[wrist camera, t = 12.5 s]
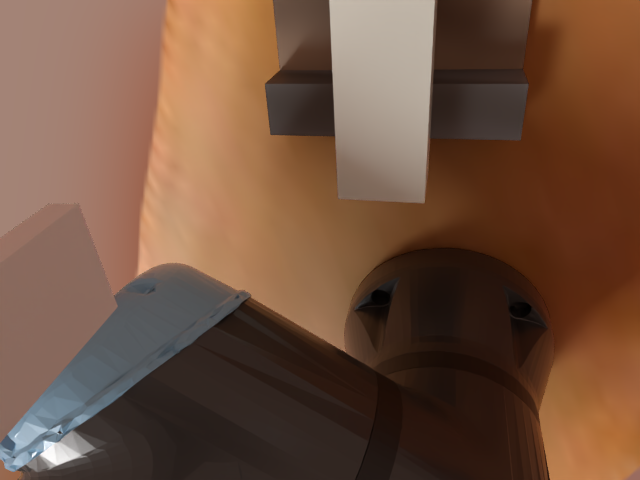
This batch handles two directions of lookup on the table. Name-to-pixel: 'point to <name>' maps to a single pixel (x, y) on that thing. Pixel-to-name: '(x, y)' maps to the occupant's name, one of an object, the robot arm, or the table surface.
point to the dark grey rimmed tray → (448, 80)
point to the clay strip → (382, 97)
